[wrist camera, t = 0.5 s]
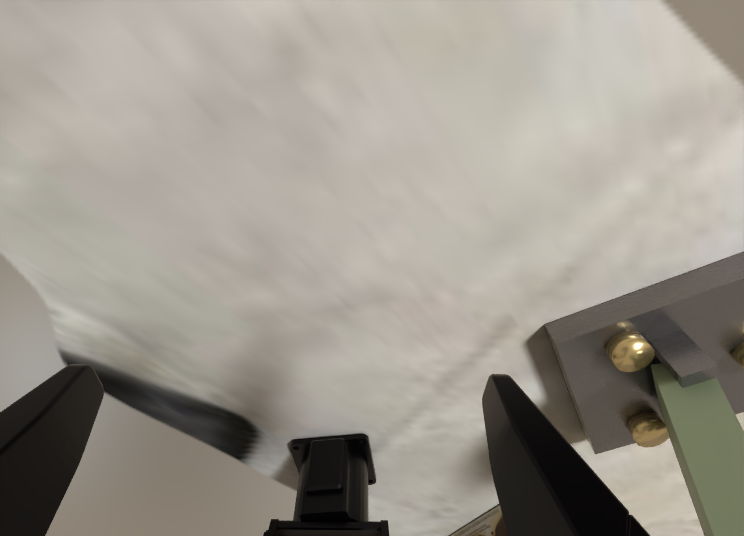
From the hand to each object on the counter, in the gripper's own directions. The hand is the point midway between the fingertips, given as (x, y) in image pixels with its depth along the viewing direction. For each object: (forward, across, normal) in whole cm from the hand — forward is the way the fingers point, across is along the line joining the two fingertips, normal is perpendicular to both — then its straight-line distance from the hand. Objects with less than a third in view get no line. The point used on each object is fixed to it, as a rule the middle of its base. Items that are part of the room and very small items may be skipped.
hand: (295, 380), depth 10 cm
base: (+14, -23, +14) cm, 31 cm away
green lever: (+11, -23, +14) cm, 29 cm away
